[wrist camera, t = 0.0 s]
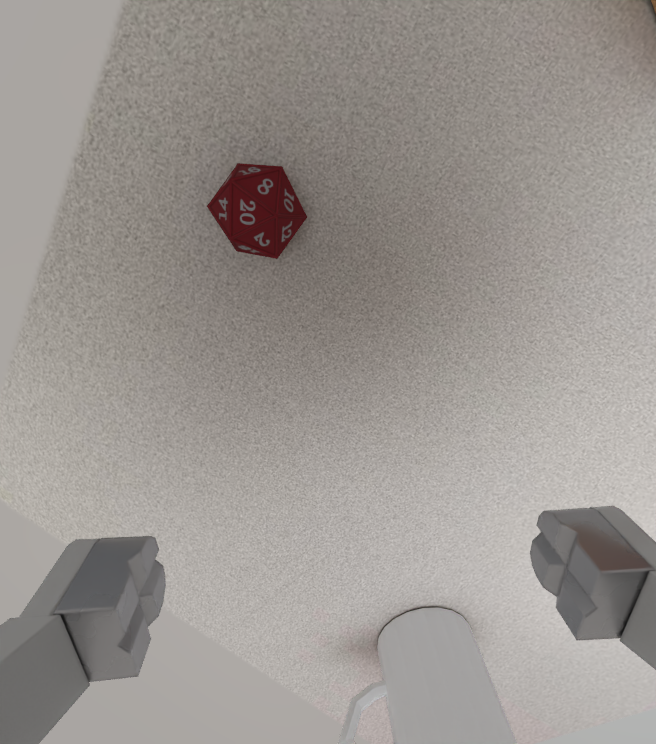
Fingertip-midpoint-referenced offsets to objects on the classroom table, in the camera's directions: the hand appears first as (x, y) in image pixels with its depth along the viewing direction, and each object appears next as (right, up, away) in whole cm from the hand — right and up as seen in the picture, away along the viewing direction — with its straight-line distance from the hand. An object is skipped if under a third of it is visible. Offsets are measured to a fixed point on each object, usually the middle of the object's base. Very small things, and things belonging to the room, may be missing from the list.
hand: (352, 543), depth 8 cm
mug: (+6, -19, +25) cm, 32 cm away
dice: (-4, +12, +11) cm, 17 cm away
